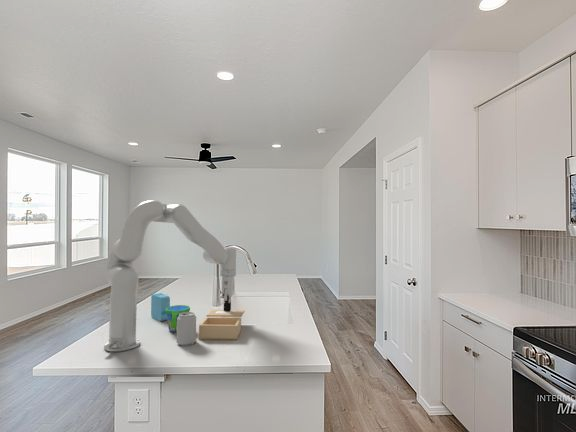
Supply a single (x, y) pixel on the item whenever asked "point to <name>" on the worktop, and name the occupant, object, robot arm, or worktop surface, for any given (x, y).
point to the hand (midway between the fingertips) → (227, 310)
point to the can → (186, 328)
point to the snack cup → (175, 315)
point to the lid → (226, 313)
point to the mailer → (220, 328)
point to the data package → (159, 306)
